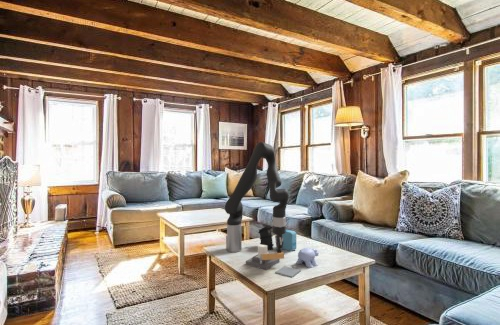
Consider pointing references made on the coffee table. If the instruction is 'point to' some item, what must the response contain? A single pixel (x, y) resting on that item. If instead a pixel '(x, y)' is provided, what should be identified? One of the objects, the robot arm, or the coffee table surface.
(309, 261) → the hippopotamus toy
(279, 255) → the orange rod with knob
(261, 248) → the plug
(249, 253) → the coffee table surface
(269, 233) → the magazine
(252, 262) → the socket block
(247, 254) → the coffee table surface
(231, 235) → the robot arm
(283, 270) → the mat
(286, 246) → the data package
